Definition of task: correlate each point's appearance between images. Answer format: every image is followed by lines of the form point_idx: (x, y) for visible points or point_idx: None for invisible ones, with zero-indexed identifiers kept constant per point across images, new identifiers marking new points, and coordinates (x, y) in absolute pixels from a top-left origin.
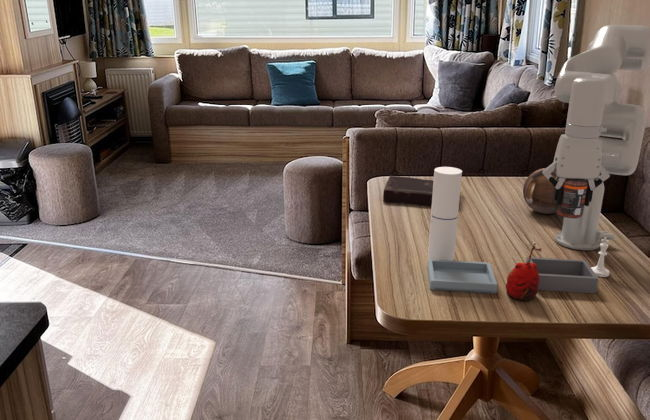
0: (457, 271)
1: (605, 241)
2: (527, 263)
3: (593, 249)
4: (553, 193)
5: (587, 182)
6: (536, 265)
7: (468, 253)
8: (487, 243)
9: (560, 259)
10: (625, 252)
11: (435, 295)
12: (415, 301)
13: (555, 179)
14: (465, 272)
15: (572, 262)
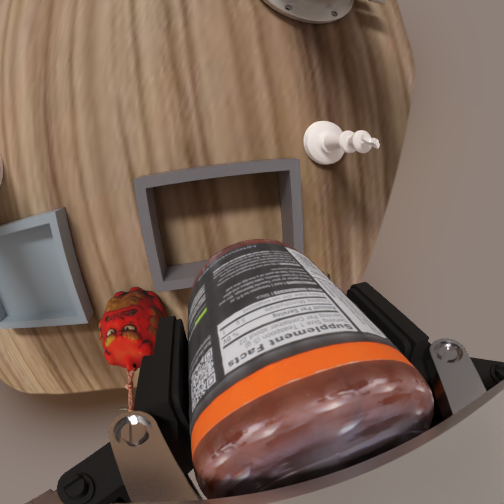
0: (14, 243)
1: (370, 144)
2: (128, 371)
3: (333, 21)
4: (139, 379)
5: (439, 389)
6: (150, 353)
7: (26, 118)
8: (73, 37)
9: (229, 168)
10: (391, 36)
11: (19, 335)
12: (9, 356)
13: (125, 476)
14: (26, 243)
15: (262, 171)
